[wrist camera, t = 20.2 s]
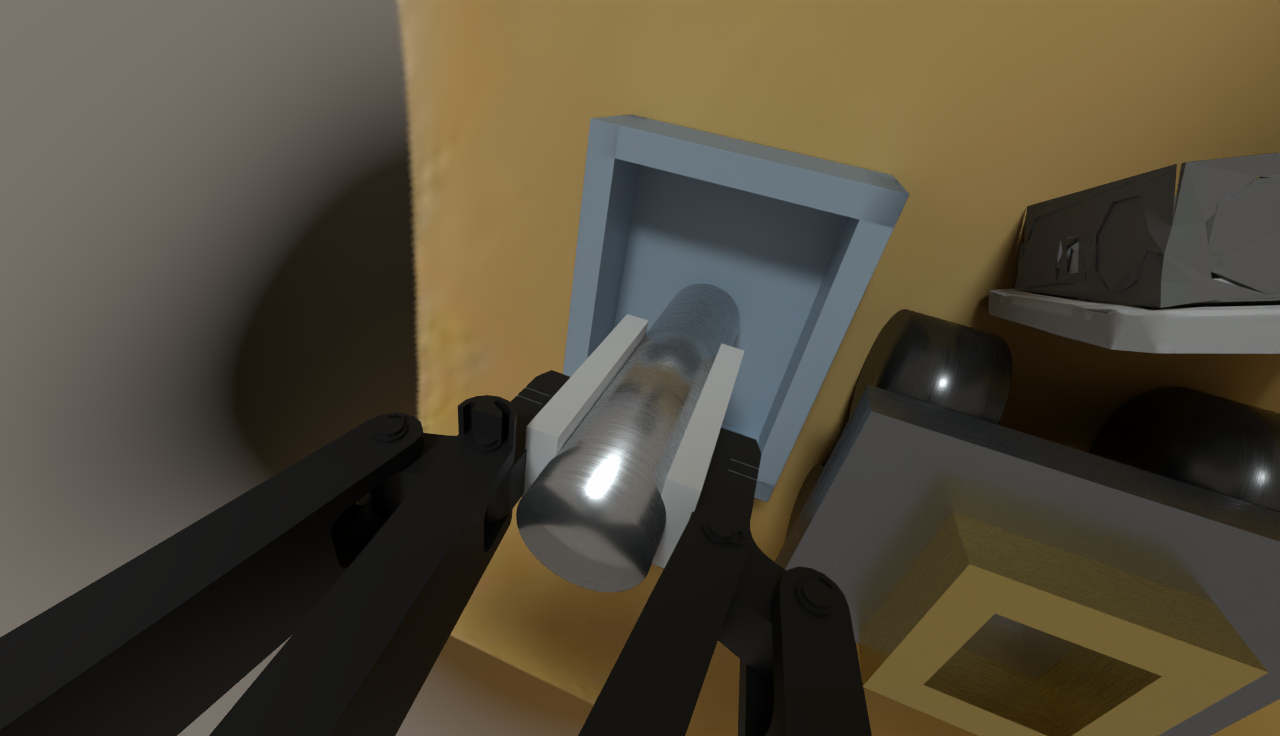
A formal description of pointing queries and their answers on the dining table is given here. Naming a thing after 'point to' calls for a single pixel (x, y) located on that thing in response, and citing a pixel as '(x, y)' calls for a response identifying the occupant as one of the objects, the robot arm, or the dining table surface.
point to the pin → (627, 451)
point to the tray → (730, 257)
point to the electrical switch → (1157, 261)
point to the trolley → (1047, 549)
